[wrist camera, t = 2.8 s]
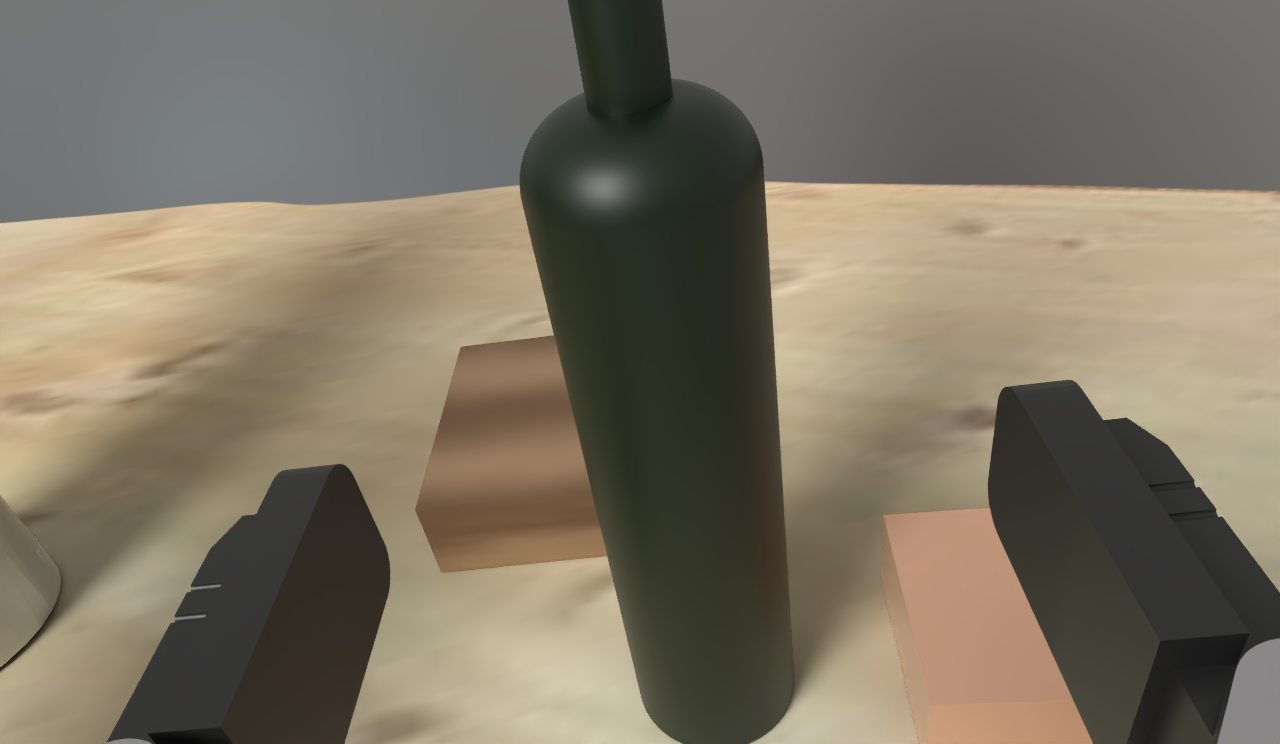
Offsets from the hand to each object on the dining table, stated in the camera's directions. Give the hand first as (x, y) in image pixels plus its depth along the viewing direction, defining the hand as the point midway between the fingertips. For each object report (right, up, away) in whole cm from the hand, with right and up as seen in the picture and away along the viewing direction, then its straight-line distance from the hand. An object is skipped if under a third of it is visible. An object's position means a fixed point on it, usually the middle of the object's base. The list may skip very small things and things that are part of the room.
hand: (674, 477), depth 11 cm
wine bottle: (+3, -10, +22) cm, 24 cm away
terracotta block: (+13, -9, +21) cm, 26 cm away
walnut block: (-3, -3, +32) cm, 33 cm away
